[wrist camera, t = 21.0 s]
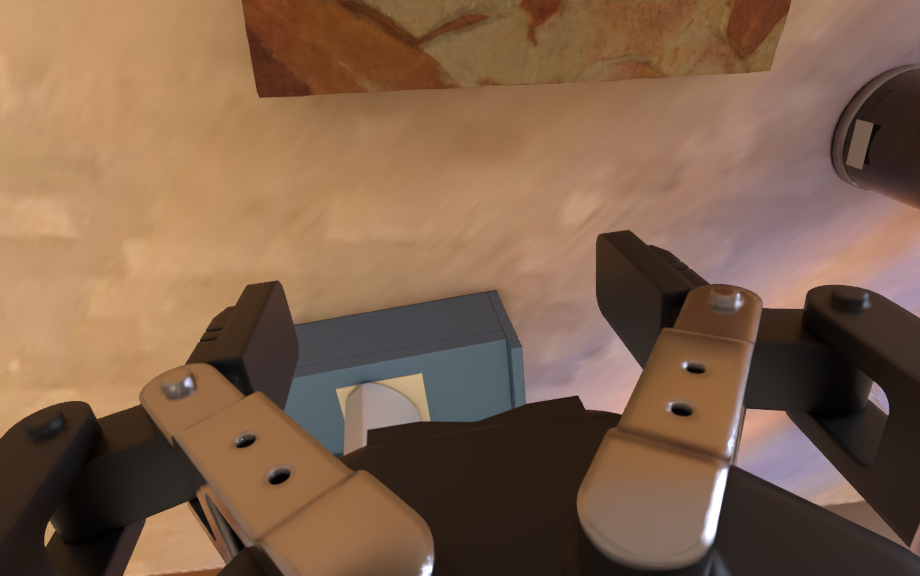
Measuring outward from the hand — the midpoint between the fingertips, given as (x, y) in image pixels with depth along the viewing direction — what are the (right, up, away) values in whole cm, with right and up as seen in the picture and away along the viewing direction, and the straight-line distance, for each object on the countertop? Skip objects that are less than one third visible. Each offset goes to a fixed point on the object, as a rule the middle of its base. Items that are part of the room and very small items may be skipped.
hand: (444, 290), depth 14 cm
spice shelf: (-6, -9, +33) cm, 35 cm away
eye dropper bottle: (-5, -8, +25) cm, 27 cm away
